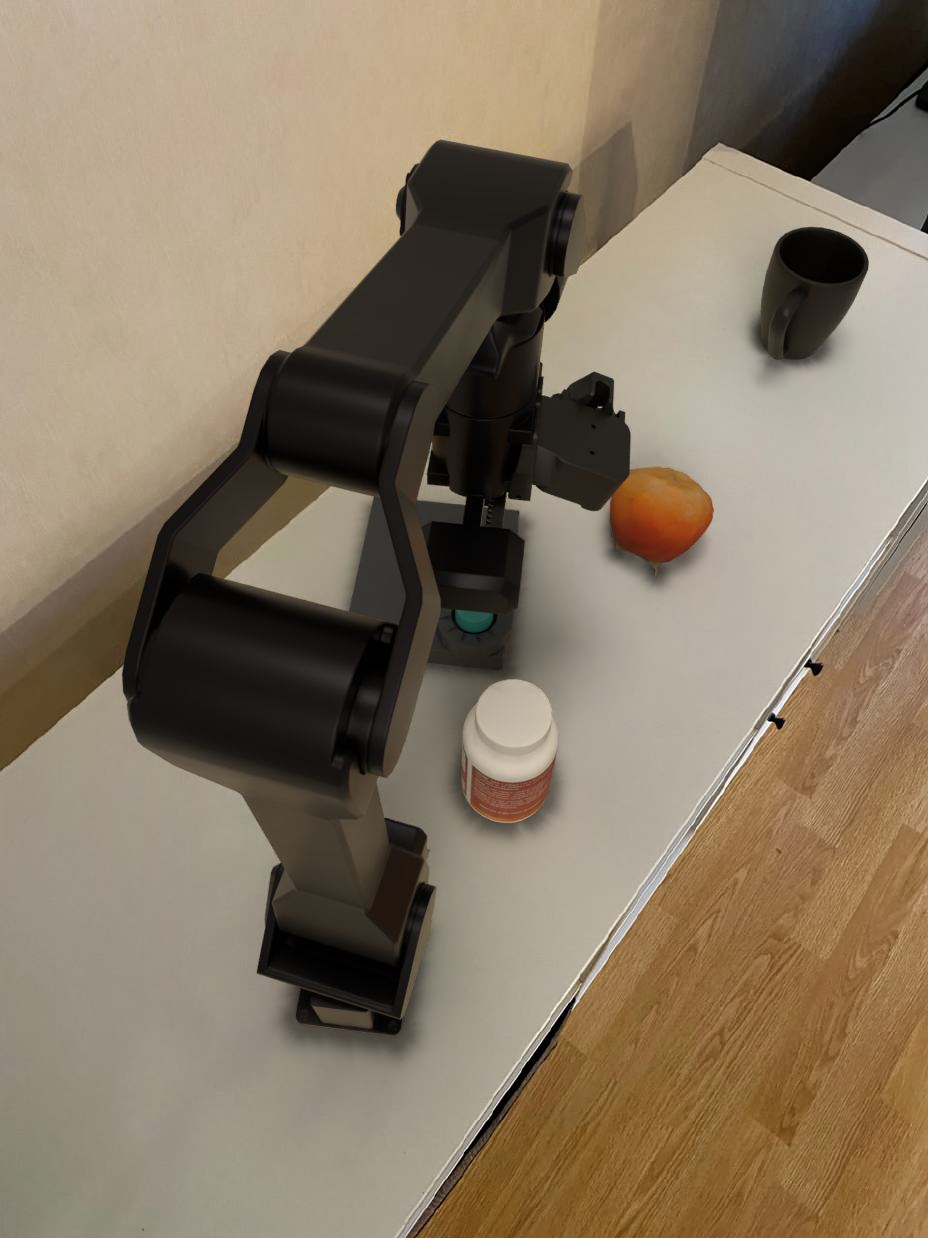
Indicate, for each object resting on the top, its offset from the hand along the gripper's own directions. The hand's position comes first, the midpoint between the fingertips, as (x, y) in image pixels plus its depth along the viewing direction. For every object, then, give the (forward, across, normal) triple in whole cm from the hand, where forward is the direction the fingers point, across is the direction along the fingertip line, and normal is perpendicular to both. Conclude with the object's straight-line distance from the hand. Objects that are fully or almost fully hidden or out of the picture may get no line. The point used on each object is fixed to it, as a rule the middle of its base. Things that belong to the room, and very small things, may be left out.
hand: (475, 554), depth 65 cm
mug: (+11, +36, -26) cm, 45 cm away
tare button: (+8, 0, 0) cm, 8 cm away
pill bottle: (+11, -12, -4) cm, 16 cm away
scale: (+11, +4, +3) cm, 12 cm away
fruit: (+11, +12, -14) cm, 21 cm away
